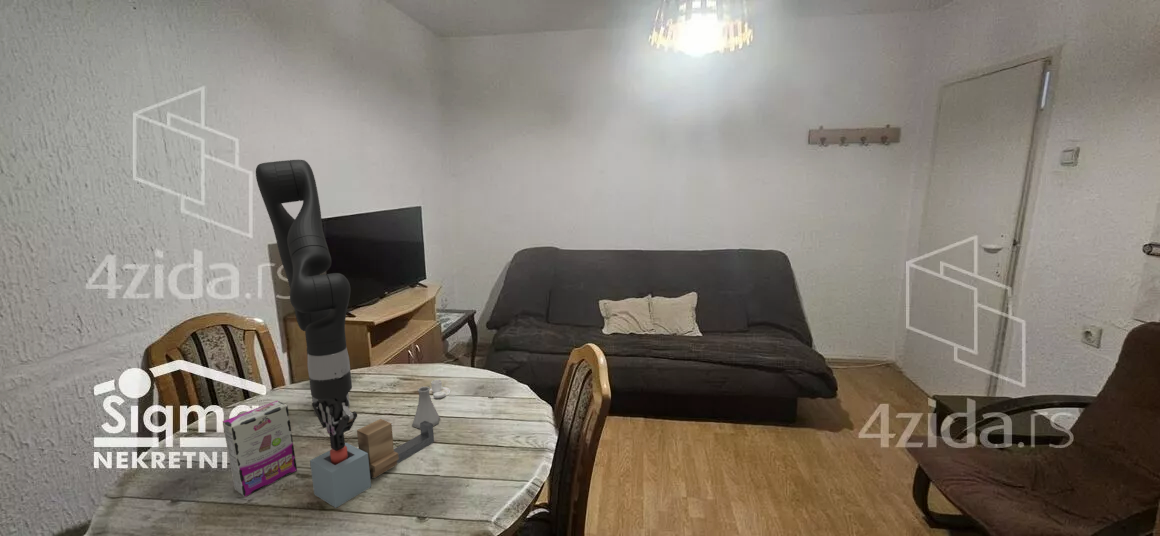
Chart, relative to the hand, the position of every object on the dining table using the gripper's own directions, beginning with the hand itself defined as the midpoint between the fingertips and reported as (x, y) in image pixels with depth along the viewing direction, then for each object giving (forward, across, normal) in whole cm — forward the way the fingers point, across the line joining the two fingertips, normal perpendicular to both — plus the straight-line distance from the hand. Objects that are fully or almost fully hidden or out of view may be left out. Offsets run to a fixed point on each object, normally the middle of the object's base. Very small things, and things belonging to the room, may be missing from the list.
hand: (338, 448), depth 101 cm
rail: (+10, 0, +13) cm, 16 cm away
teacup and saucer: (+11, -20, +40) cm, 46 cm away
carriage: (+10, 0, +9) cm, 13 cm away
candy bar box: (+10, -18, -7) cm, 22 cm away
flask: (+10, -8, +29) cm, 32 cm away
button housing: (+10, 0, 0) cm, 10 cm away
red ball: (+3, 0, 0) cm, 3 cm away
